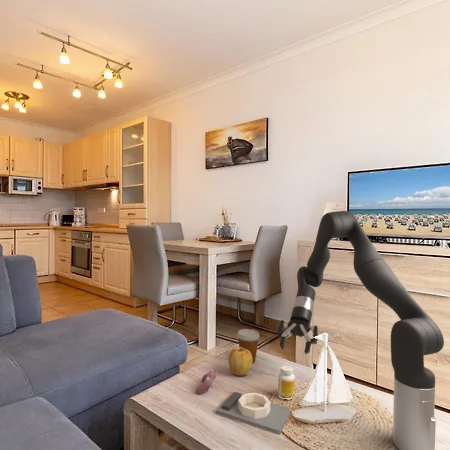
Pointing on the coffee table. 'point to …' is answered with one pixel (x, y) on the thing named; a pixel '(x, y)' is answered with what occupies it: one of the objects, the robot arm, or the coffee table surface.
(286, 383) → the supplement bottle
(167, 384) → the coffee table surface
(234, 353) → the apple
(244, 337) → the disposable coffee cup
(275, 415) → the board
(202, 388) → the pink toy shoe
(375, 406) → the coffee table surface
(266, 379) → the coffee table surface
